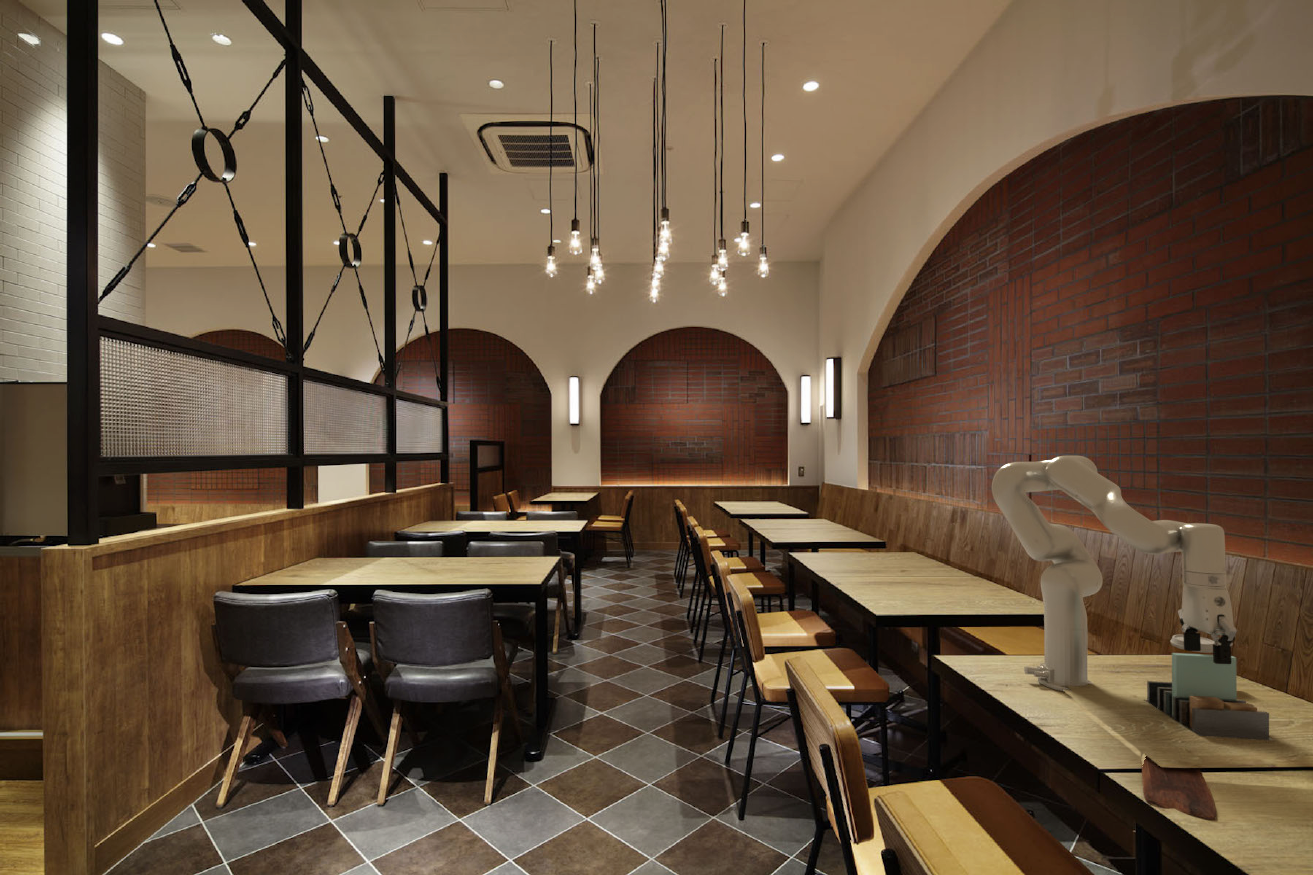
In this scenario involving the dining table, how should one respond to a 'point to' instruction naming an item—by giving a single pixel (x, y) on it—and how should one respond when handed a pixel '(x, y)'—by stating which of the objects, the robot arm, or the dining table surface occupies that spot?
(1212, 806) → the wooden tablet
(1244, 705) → the short walnut offcut
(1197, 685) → the teal sheet
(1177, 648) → the disposable coffee cup
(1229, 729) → the rack
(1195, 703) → the tall walnut offcut
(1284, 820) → the dining table surface
